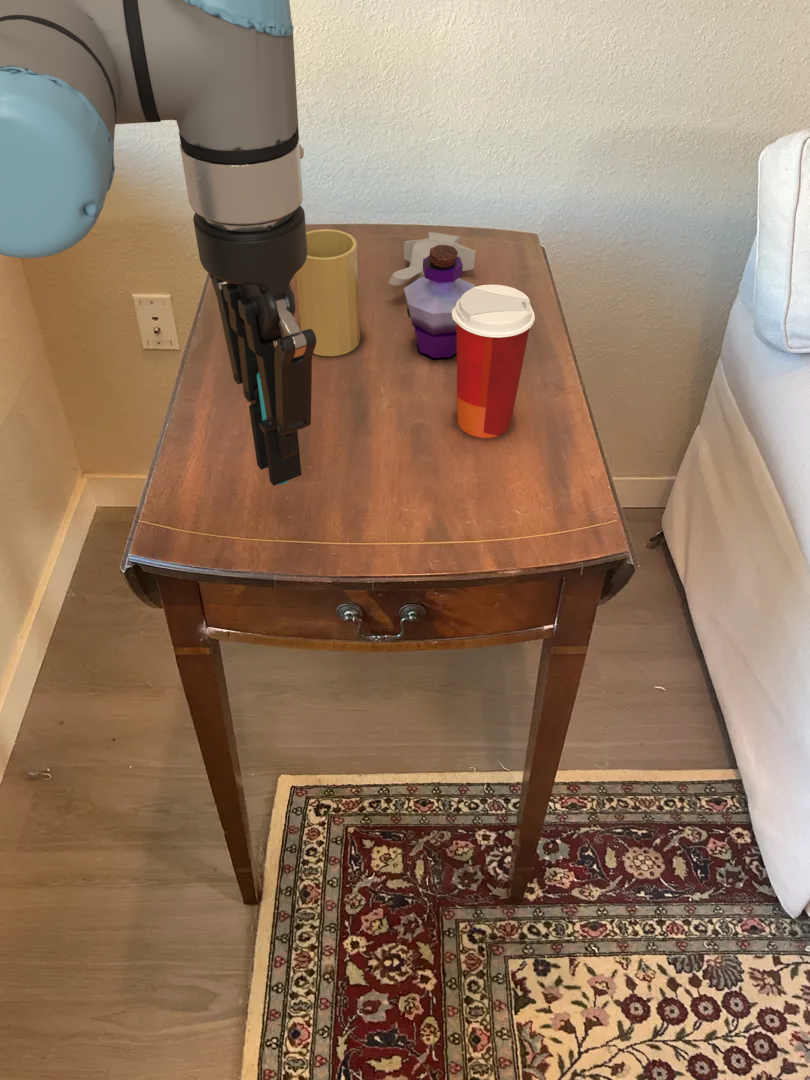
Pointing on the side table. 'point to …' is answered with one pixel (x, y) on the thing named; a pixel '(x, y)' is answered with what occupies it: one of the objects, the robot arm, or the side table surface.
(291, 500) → the side table surface
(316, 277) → the can
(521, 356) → the paper cup
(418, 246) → the bunny figurine
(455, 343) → the potion bottle
